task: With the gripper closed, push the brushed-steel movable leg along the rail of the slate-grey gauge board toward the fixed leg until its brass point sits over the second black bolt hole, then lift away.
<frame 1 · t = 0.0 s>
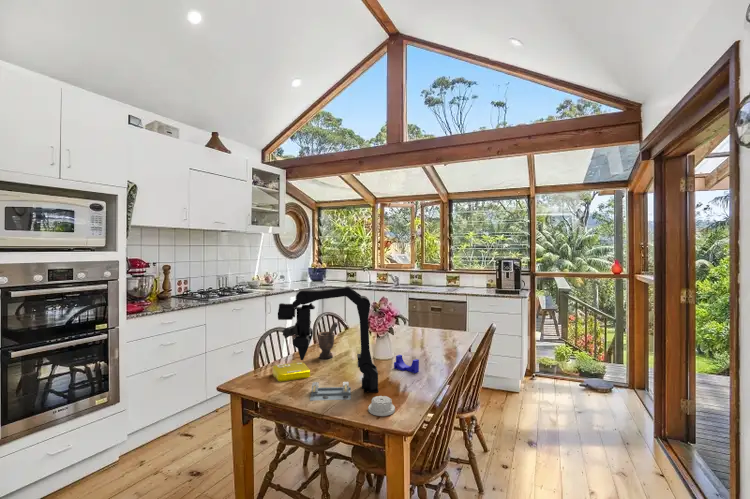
hand: (303, 356, 159), 15 cm above the table, tool pointing down, fingers open, 9 cm apart
movable leg: (314, 390, 153), point 3 cm above the table, slide at 10.5 cm
blue u-shaped bracket: (406, 370, 187), on the table
gauge board: (331, 396, 154), on the table
element tile: (291, 377, 177), on the table
mortar and pestle: (328, 357, 206), on the table
mechanical component: (381, 411, 142), on the table
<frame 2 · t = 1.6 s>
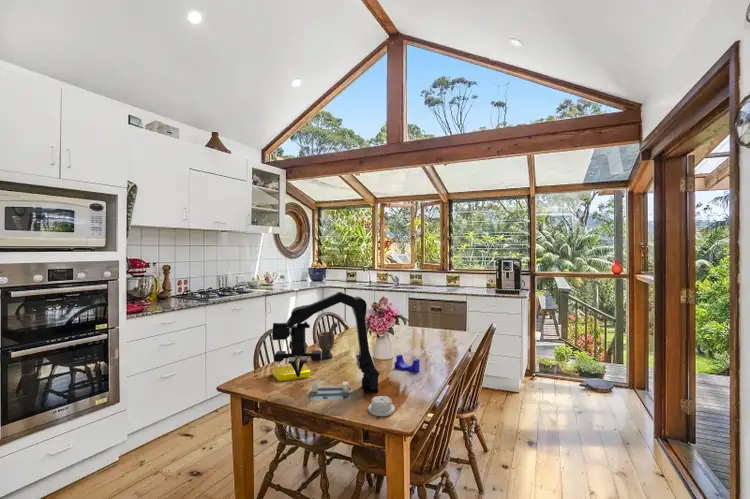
hand: (298, 376, 155), 8 cm above the table, tool pointing down, fingers closed
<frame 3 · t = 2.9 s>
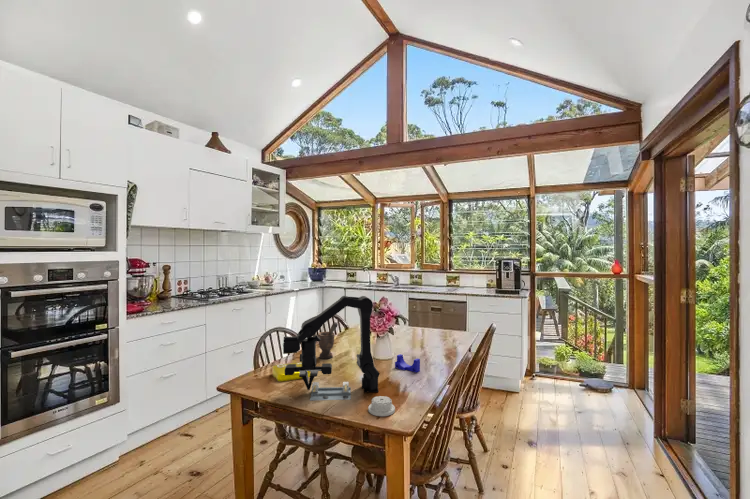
hand: (308, 389, 155), 2 cm above the table, tool pointing down, fingers closed
movable leg: (315, 390, 153), point 3 cm above the table, slide at 10.4 cm, touching gripper
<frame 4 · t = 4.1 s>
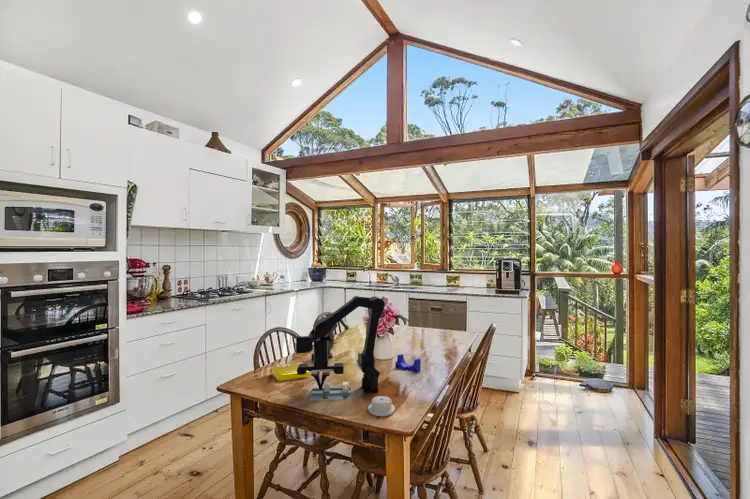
hand: (320, 389, 155), 2 cm above the table, tool pointing down, fingers closed
movable leg: (327, 389, 154), point 3 cm above the table, slide at 5.6 cm, touching gripper
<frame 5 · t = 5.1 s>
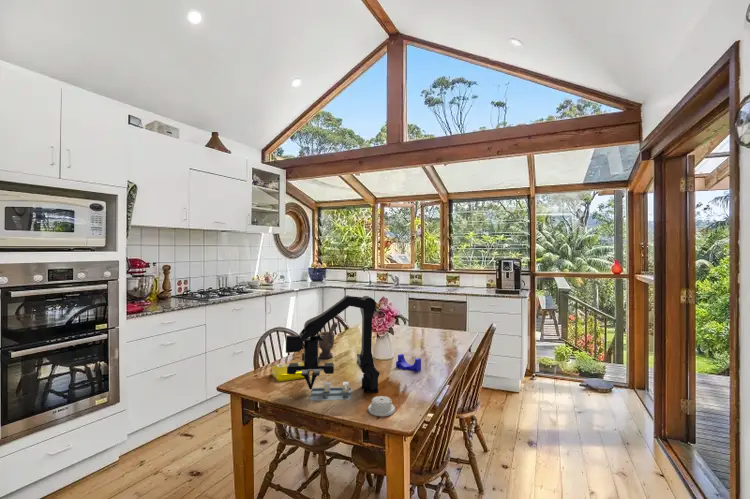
hand: (310, 389, 155), 3 cm above the table, tool pointing down, fingers closed
movable leg: (327, 389, 154), point 3 cm above the table, slide at 5.6 cm
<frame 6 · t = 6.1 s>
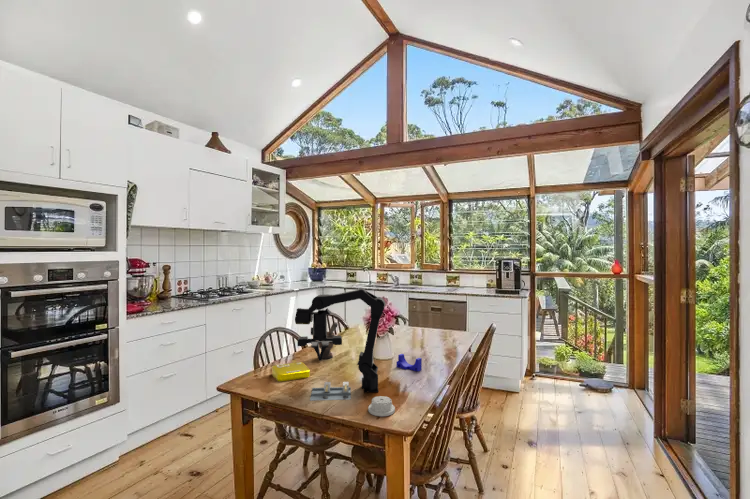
hand: (320, 360, 163), 12 cm above the table, tool pointing down, fingers closed
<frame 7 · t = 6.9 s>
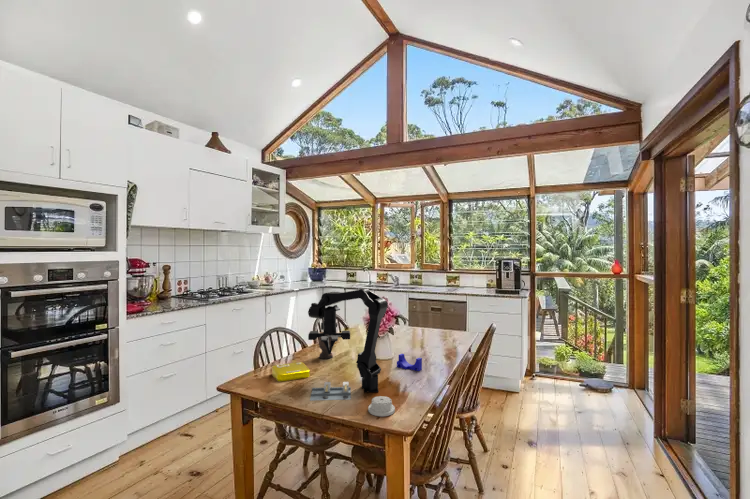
hand: (329, 354, 172), 12 cm above the table, tool pointing down, fingers closed
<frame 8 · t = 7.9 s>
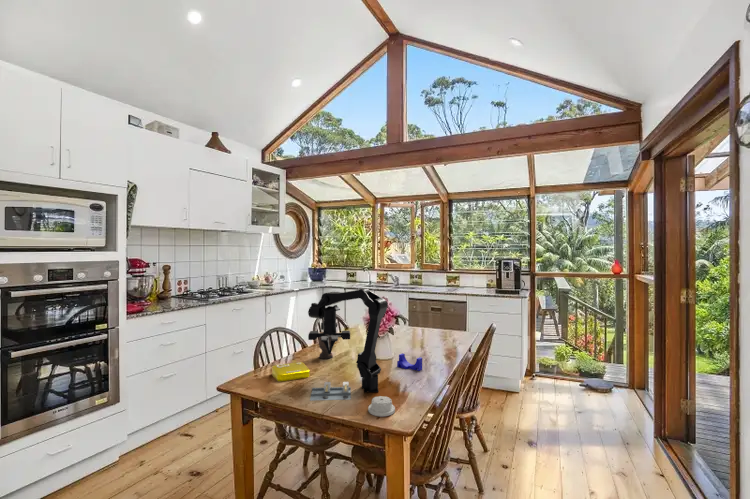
hand: (329, 354, 172), 12 cm above the table, tool pointing down, fingers closed
at the end: movable leg slide at 5.6 cm; movable leg 0.4 cm from the target spot, point 2.9 cm above the table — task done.
